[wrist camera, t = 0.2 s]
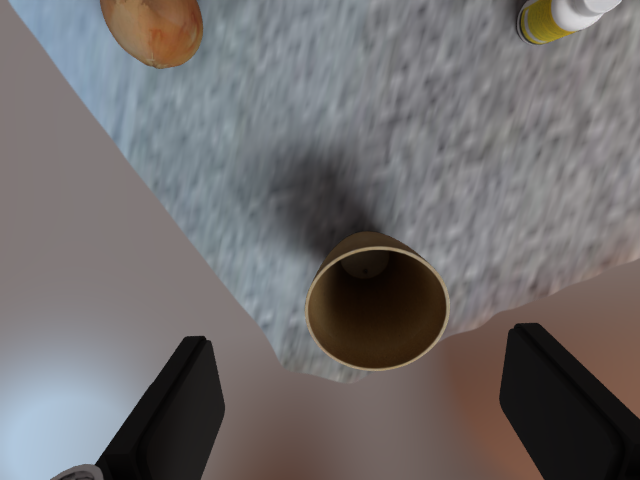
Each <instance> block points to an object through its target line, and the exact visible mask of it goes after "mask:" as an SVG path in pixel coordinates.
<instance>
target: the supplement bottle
mask: <svg viewBox="0 0 640 480" xmlns="http://www.w3.org/2000/svg"><path fill="white" fill-rule="evenodd" d="M620 2H621V0H528V1H527V2H526V3H525V4H524V5H523V7H522V9H521V11H520V13H519V16H518V20H517V30H518V33H519V35H520V37H521V39H522V40H523V41H524V42H526V43H528V44H530V45H542V44H546V43H548V42H551V41H554V40H556V39H559V38H561V37H564V36H567V35H569V34H572V33H575V32H577V31H580V30H582V29H584V28H587V27H589V26H590V25H592V24H593V23H595V22H596V21H597V20H598V19H599V18H600V17H601V16H602V15H603V14H604V13H605V12H607V11H609V10H611V9H613V8H614V7H615V6H617V5H618V4H619V3H620Z"/></svg>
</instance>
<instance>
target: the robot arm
mask: <svg viewBox="0 0 640 480" xmlns="http://www.w3.org/2000/svg"><path fill="white" fill-rule="evenodd" d="M499 400H500V405H501V408H502V410H503V412H504V414H505V415H506V417H507V419H508V420H509V422H510V423H511V425H512V427H513V428H514V430H515V432H516V433H517V435H518V437H519V438H520V440H521V442H522V443H523V445H524V447H525V448H526V450H527V452H528V453H529V455H530V457H531V458H532V460H533V462H534V463H535V465H536V467H537V468H538V470H539V472H540V473H541V475H542V477H543V478H544V480H640V419H639V418H638V417H637V416H636V415H635V414H633V413H632V412H631V411H630V410H629V409H628V408H627V407H626V406H625V405H624V404H623V403H622V402H621V401H620V400H619V399H618V398H617V397H616V396H615V395H614V394H612V393H611V392H610V391H609V390H608V389H607V388H606V387H605V386H604V385H603V384H602V383H601V382H600V381H599V380H598V379H597V378H596V377H595V376H594V375H593V374H591V373H590V372H589V371H588V370H587V369H586V368H585V367H584V366H583V365H582V364H581V363H580V362H579V361H578V360H577V359H576V358H575V357H574V356H573V355H572V354H570V353H569V352H568V351H567V350H566V349H565V348H564V347H563V346H562V345H561V344H560V343H559V342H558V341H557V340H556V339H555V338H554V337H553V336H552V335H550V333H548V332H547V331H546V330H545V329H544V328H543V327H542V326H541V325H540V324H538V323H518V324H516V325H515V326H514V329H510V330H509V333H508V339H507V346H506V354H505V361H504V367H503V375H502V381H501V388H500V396H499ZM224 412H225V404H224V399H223V394H222V389H221V385H220V380H219V375H218V370H217V365H216V361H215V356H214V352H213V347H212V343H211V341H209V340H206V338H205V336H187V337H185V338H184V339H183V340H182V342H181V343H180V345H179V346H178V347H177V349H176V350H175V352H174V353H173V355H172V356H171V357H170V359H169V360H168V362H167V363H166V365H165V366H164V368H163V369H162V370H161V372H160V373H159V375H158V376H157V378H156V379H155V381H154V382H153V383H152V384H151V385H150V386H149V388H148V389H147V391H146V392H145V393H144V395H143V396H142V398H141V399H140V400H139V402H138V404H137V405H136V406H135V408H134V409H133V411H132V412H131V414H130V415H129V416H128V418H127V419H126V421H125V422H124V423H123V425H122V426H121V428H120V429H119V431H118V432H117V433H116V435H115V436H114V438H113V439H112V441H111V442H110V443H109V445H108V447H107V448H106V449H105V451H104V452H103V453H102V455H101V456H100V458H99V459H98V461H97V462H96V464H95V465H91V464H83V465H79V466H75V467H72V468H70V469H68V470H65V471H63V472H61V473H60V474H58V475H57V476H55V477H53V478H52V479H50V480H201V477H202V474H203V471H204V469H205V466H206V463H207V460H208V458H209V455H210V453H211V450H212V447H213V444H214V441H215V439H216V436H217V434H218V431H219V428H220V425H221V423H222V420H223V417H224Z"/></svg>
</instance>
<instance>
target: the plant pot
mask: <svg viewBox="0 0 640 480" xmlns="http://www.w3.org/2000/svg"><path fill="white" fill-rule="evenodd" d="M365 270H367V272H365ZM449 312H450V301H449V295H448V291H447V288H446V286H445V283H444V281H443V280H442V278H441V276H440V275H439V274H438V272H437V271H436V270H435V269H434V268H433V267H432V266H431V265H430V264H429V263H428V262H427V261H426V260H425V259H424V258H422V257H421V256H420V255H419V254H418V253H416V252H415V251H414V250H412V249H411V248H410V247H408V246H406V245H405V244H403V243H402V242H400V241H398V240H396V239H394V238H392V237H390V236H387V235H385V234H381V233H377V232H371V231H364V232H358V233H355V234H352V235H350V236H348V237H347V238H345V239H344V240H342V241H341V242H340V243H339V244H338V245H336V246H335V248H334V249H333V250H332V251H331V252H330V253H329V254H328V256H327V257H326V259H325V260H324V262H323V263H322V265H321V266H320V268H319V270H318V272H317V274H316V276H315V278H314V280H313V282H312V284H311V286H310V288H309V291H308V294H307V297H306V303H305V318H306V323H307V327H308V329H309V332H310V334H311V336H312V338H313V339H314V341H315V342H316V344H317V345H318V346H319V347H320V348H321V349H322V350H323V351H324V352H325V353H326V354H327V355H328V356H330V357H331V358H333V359H334V360H336V361H338V362H340V363H342V364H344V365H346V366H349V367H352V368H356V369H361V370H368V371H382V370H389V369H394V368H398V367H402V366H405V365H407V364H409V363H411V362H413V361H415V360H417V359H418V358H420V357H422V356H423V355H424V354H425V353H427V352H428V351H429V350H430V349H431V348H432V347H433V346H434V345H435V344H436V343H437V341H438V340H439V339H440V337H441V336H442V334H443V332H444V330H445V328H446V325H447V322H448V318H449Z"/></svg>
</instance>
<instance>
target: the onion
mask: <svg viewBox="0 0 640 480" xmlns="http://www.w3.org/2000/svg"><path fill="white" fill-rule="evenodd" d="M100 4H101V10H102V13H103V16H104V19H105V22H106V24H107V26H108V28H109V30H110V32H111V33H112V35H113V37H114V38H115V40H116V41H117V42H118V44H119V45H120V46H121V47H122V48H123V49H124V50H125V51H126V52H128V53H129V54H130V55H132V56H133V57H135V58H136V59H138V60H139V61H141V62H142V63H144V64H145V65H148V66H153V67H155V68H158V69H163V68H169V67H175V66H179V65H181V64H183V63H185V62H187V61H188V60H189V59H191V58H192V56H193V55H194V54H195V53H196V51H197V50H198V48H199V46H200V43H201V40H202V36H203V22H202V16H201V12H200V9H199V6H198V3H197V1H196V0H100Z"/></svg>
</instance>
